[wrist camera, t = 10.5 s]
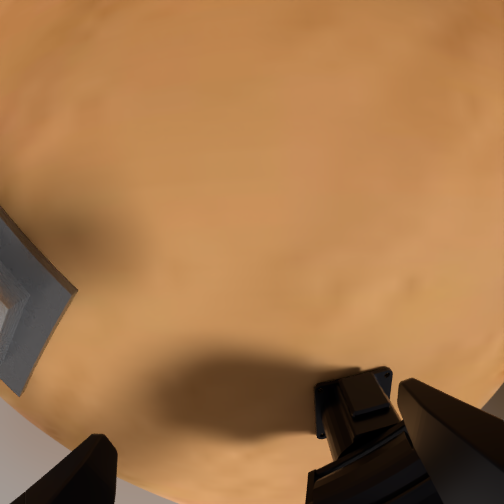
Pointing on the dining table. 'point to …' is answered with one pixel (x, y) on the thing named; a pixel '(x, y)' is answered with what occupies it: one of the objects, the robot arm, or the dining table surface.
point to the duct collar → (26, 304)
